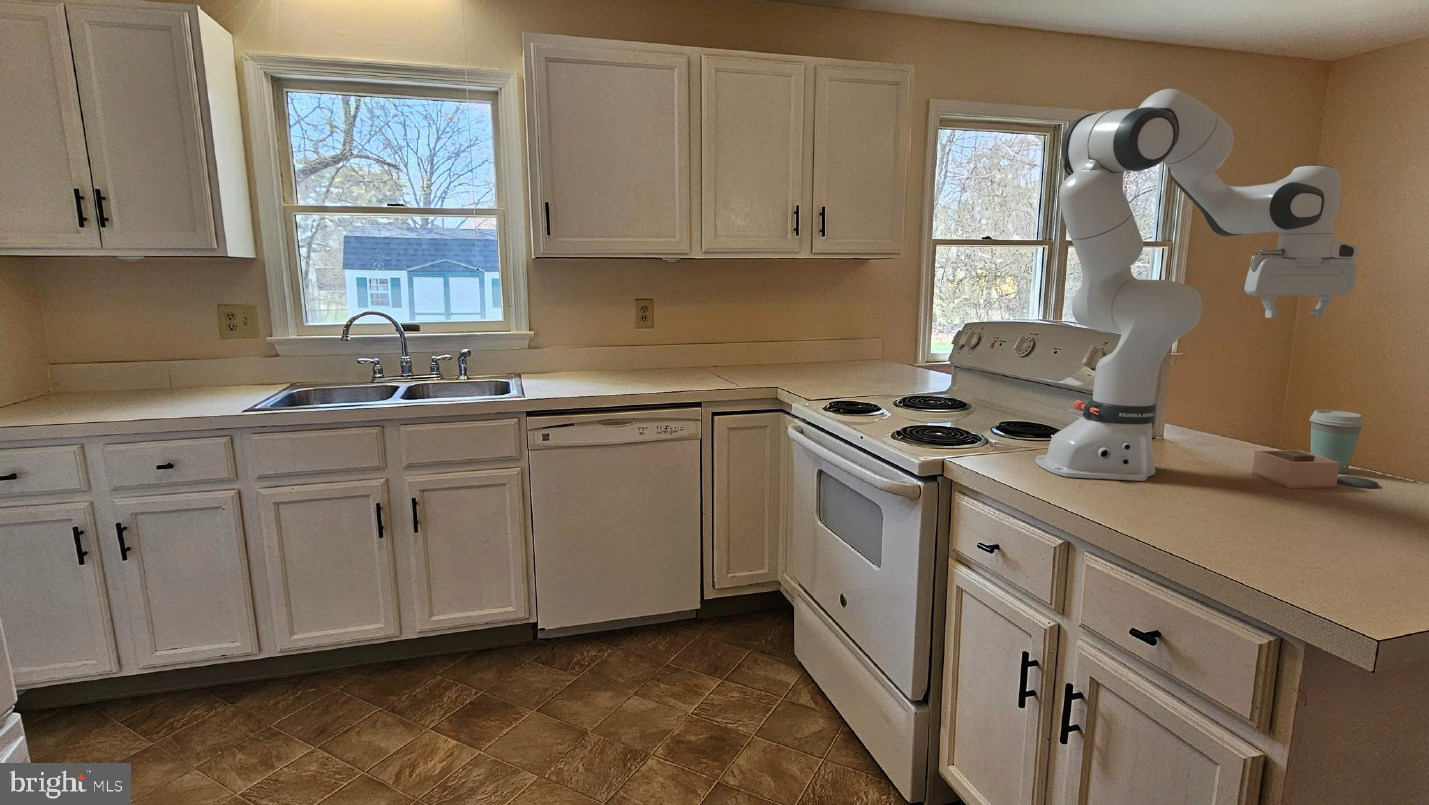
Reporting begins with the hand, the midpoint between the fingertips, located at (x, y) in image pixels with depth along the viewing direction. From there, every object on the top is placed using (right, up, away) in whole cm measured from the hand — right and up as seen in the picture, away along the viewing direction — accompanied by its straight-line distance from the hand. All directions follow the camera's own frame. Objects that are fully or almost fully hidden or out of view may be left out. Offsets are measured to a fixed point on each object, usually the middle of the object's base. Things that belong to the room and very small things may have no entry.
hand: (1294, 317), depth 148 cm
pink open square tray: (-6, -33, -7) cm, 34 cm away
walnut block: (-6, -32, -7) cm, 34 cm away
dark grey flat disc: (+5, -34, -9) cm, 35 cm away
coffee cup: (+8, -32, +1) cm, 33 cm away
